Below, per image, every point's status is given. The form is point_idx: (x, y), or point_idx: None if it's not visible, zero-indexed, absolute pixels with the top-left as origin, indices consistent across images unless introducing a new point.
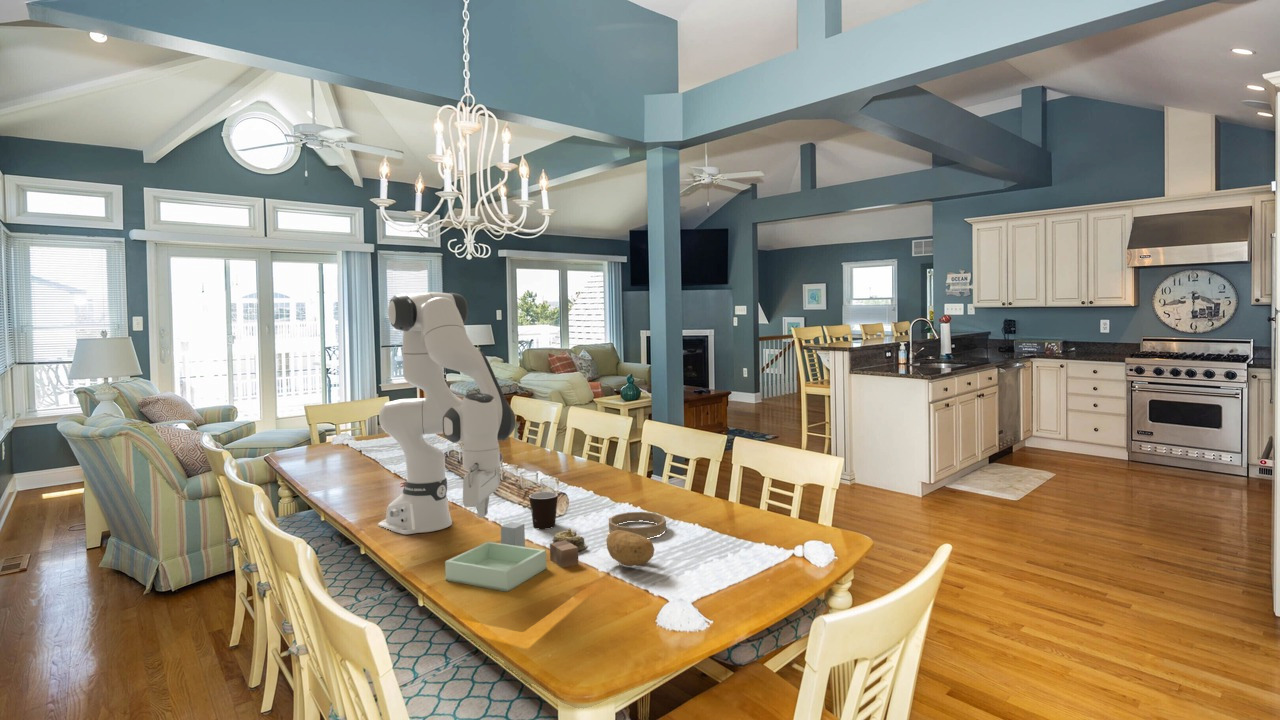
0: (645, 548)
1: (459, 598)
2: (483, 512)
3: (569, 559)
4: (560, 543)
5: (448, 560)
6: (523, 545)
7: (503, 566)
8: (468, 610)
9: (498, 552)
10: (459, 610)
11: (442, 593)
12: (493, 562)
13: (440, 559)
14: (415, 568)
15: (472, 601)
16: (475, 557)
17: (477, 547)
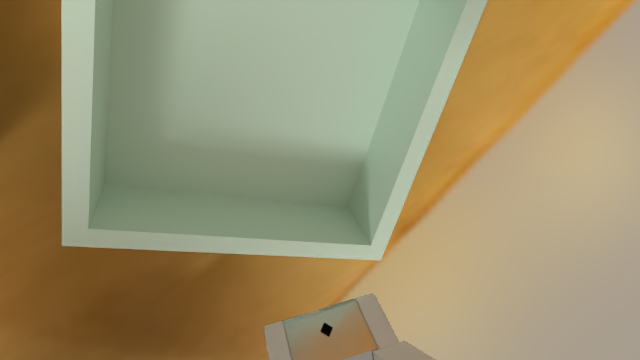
0: None
1: (503, 88)
2: (391, 329)
3: None
4: None
5: (372, 254)
6: None
7: (190, 61)
8: (602, 4)
9: (100, 145)
10: (594, 37)
11: (458, 164)
12: (151, 137)
13: (163, 342)
14: (266, 350)
15: (534, 27)
16: (209, 213)
17: (180, 241)
